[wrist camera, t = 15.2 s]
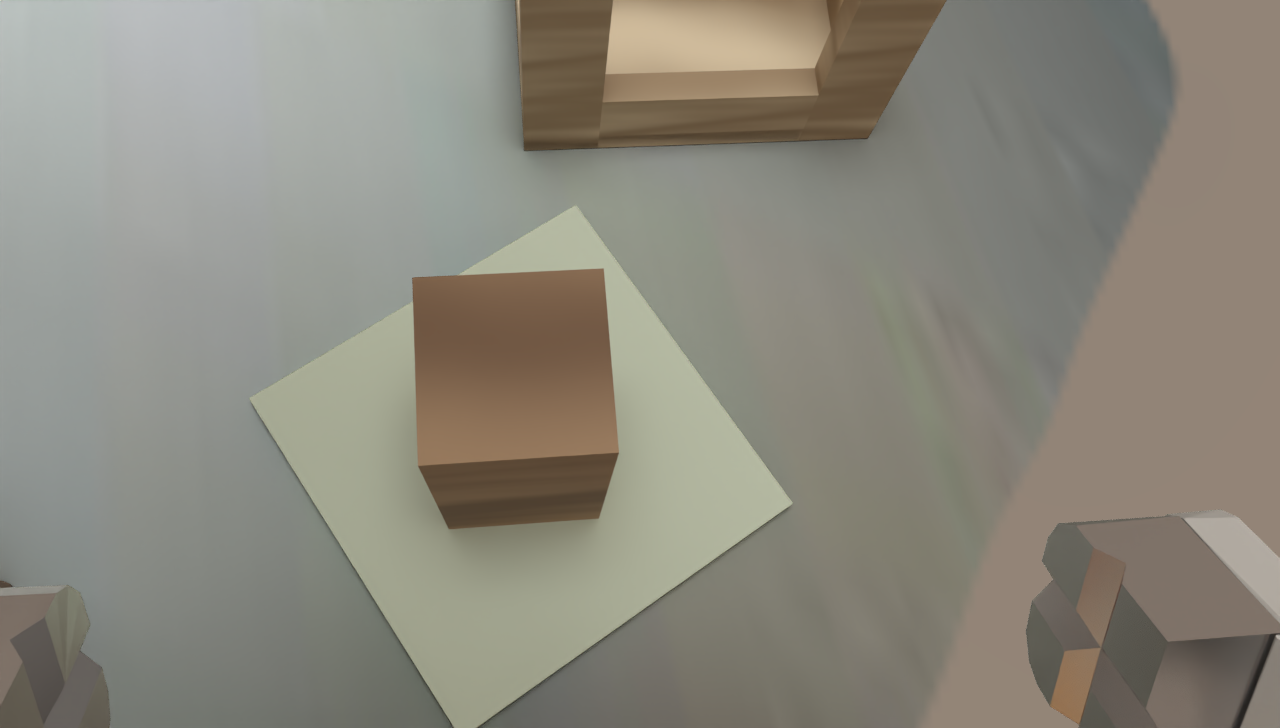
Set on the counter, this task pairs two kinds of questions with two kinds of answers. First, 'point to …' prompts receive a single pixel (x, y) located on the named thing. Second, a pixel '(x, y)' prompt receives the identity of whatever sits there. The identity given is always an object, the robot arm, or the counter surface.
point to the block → (514, 396)
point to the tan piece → (711, 69)
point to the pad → (523, 553)
